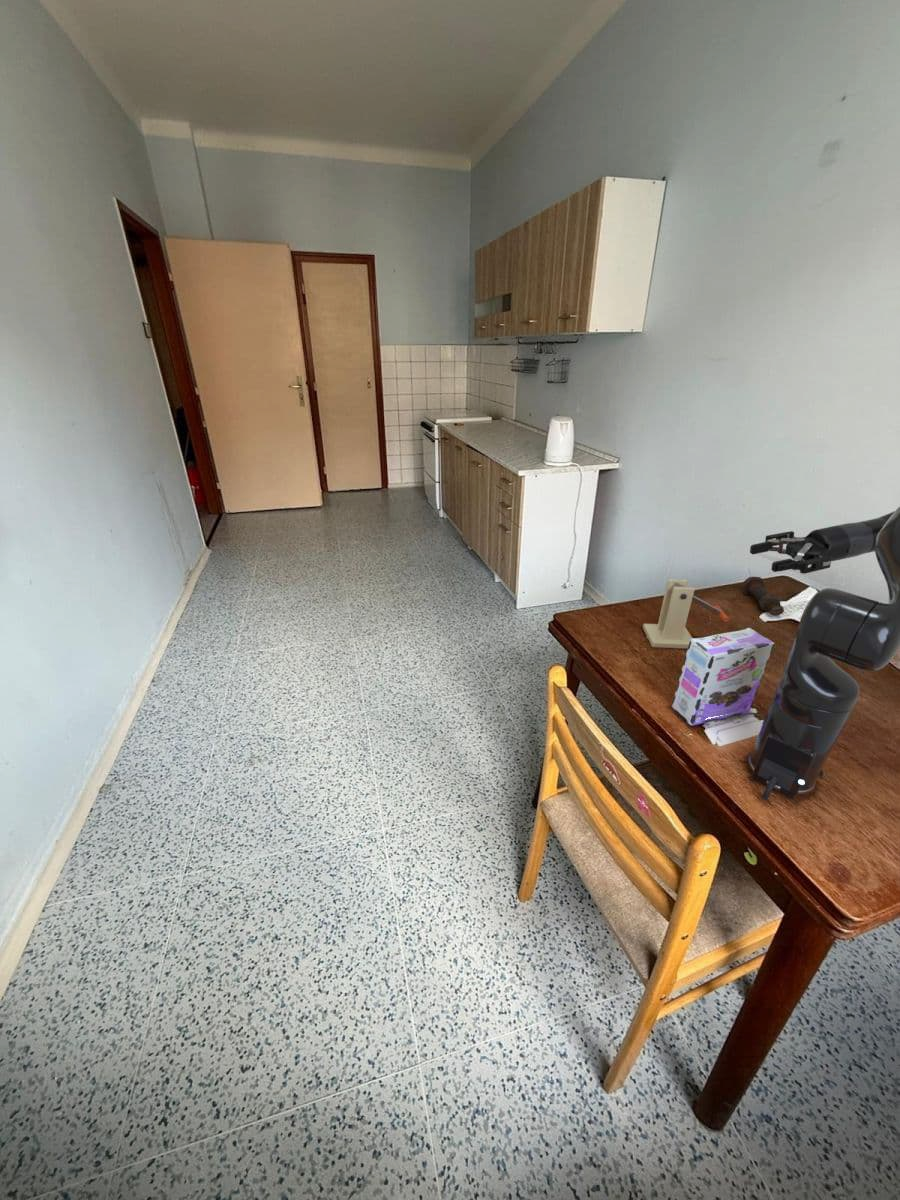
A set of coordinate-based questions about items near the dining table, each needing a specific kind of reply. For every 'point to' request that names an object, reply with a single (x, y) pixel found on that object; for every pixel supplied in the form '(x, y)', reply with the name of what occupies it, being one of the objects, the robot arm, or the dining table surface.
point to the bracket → (672, 617)
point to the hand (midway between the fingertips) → (761, 558)
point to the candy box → (721, 675)
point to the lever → (706, 605)
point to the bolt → (762, 595)
